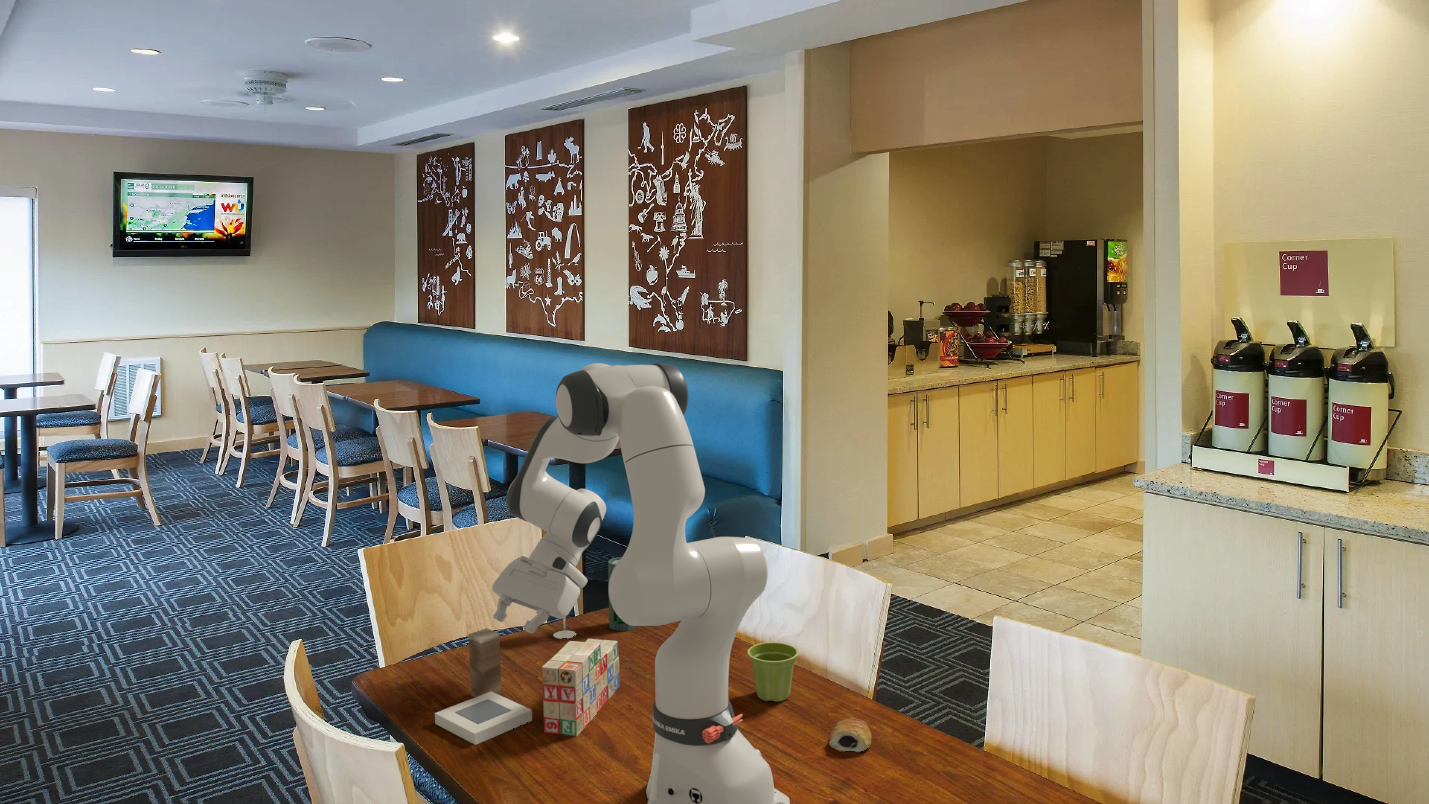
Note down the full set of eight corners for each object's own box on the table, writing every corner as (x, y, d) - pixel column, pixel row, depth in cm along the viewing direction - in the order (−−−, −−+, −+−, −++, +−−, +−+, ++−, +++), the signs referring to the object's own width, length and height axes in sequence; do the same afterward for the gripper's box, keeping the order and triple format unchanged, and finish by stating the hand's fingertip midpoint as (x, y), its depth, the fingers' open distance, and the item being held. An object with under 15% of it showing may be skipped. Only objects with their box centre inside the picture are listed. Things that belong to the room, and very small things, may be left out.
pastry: (836, 726, 176) (837, 705, 175) (875, 731, 174) (876, 710, 173) (828, 751, 167) (828, 729, 166) (868, 757, 165) (869, 735, 165)
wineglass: (543, 637, 218) (541, 584, 216) (559, 627, 224) (558, 575, 223) (570, 642, 215) (568, 588, 214) (586, 631, 222) (584, 578, 220)
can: (620, 632, 221) (618, 566, 219) (604, 625, 225) (603, 560, 223) (642, 626, 224) (641, 561, 222) (627, 619, 229) (625, 555, 227)
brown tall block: (501, 694, 189) (499, 633, 188) (483, 702, 186) (481, 639, 185) (488, 689, 192) (486, 628, 190) (470, 695, 189) (468, 634, 187)
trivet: (532, 720, 179) (531, 709, 178) (475, 744, 170) (474, 733, 169) (491, 701, 186) (491, 690, 186) (435, 723, 178) (434, 712, 177)
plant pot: (769, 711, 182) (769, 665, 180) (737, 693, 189) (737, 649, 188) (808, 697, 187) (808, 653, 186) (776, 681, 195) (776, 638, 193)
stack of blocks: (589, 683, 194) (588, 622, 193) (620, 687, 193) (618, 625, 191) (543, 733, 174) (541, 665, 172) (577, 737, 172) (575, 669, 171)
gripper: (509, 546, 203) (470, 605, 197) (575, 566, 190) (535, 630, 184) (527, 562, 207) (489, 621, 201) (593, 583, 194) (555, 646, 188)
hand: (512, 625), depth 192 cm, fingers open, 8 cm apart
